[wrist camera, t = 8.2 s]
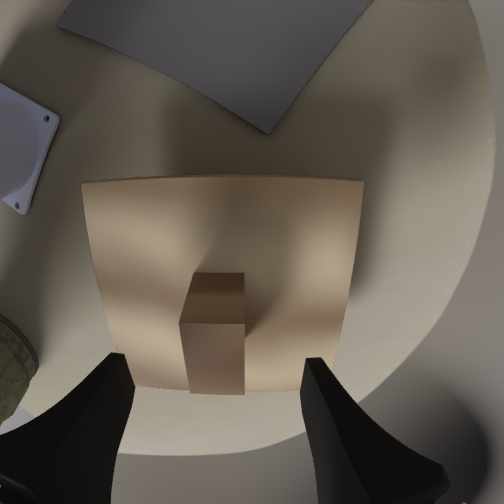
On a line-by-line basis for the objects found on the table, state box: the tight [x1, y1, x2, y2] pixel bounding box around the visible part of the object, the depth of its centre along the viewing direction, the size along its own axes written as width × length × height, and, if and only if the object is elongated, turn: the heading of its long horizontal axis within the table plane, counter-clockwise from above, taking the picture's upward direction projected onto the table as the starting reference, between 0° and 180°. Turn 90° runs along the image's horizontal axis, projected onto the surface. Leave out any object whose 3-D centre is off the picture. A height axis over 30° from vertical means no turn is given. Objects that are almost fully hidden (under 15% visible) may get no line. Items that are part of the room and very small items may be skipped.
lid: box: [81, 174, 364, 395], centre depth 14 cm, size 13×13×5 cm
